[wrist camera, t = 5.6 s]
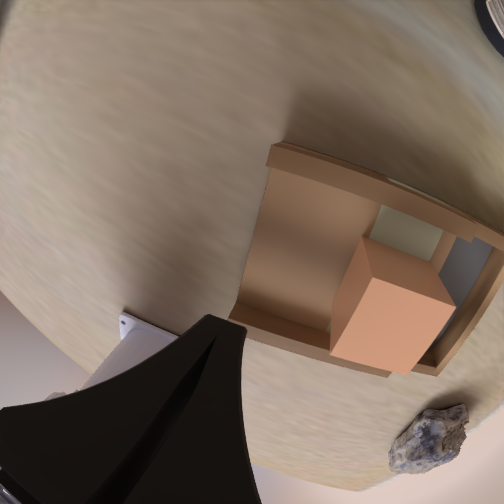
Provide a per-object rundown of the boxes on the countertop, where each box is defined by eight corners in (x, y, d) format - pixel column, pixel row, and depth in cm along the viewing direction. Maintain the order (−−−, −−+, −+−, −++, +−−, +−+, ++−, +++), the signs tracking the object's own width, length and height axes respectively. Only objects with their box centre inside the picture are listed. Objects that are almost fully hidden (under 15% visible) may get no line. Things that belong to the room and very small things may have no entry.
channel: (431, 358, 18) (440, 388, 16) (239, 301, 20) (225, 329, 17) (505, 234, 13) (529, 255, 11) (281, 141, 15) (271, 144, 12)
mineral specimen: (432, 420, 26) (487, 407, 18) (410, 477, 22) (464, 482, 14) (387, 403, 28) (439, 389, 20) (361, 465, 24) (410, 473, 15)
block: (395, 322, 16) (406, 375, 12) (331, 302, 17) (329, 354, 13) (429, 262, 14) (456, 307, 10) (361, 235, 15) (372, 277, 11)
